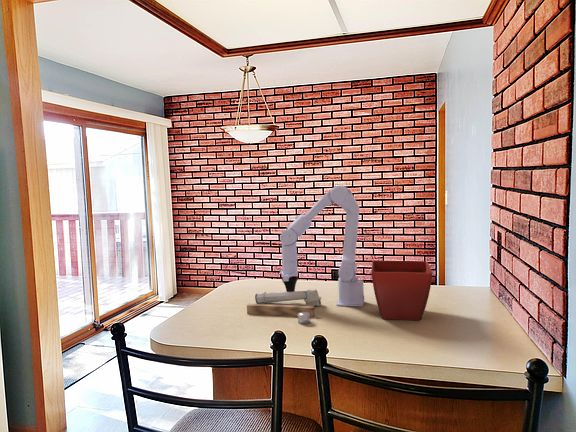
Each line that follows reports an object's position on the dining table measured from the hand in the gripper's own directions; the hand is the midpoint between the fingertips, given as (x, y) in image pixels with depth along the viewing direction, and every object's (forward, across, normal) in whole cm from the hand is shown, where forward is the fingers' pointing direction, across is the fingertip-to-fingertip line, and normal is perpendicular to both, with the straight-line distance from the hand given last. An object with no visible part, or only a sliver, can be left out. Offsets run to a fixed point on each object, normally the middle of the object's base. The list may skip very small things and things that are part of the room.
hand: (290, 295), depth 175 cm
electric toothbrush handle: (+3, +3, 0) cm, 4 cm away
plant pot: (+3, +10, +41) cm, 42 cm away
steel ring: (+2, +23, +10) cm, 26 cm away
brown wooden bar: (+2, +16, 0) cm, 16 cm away
